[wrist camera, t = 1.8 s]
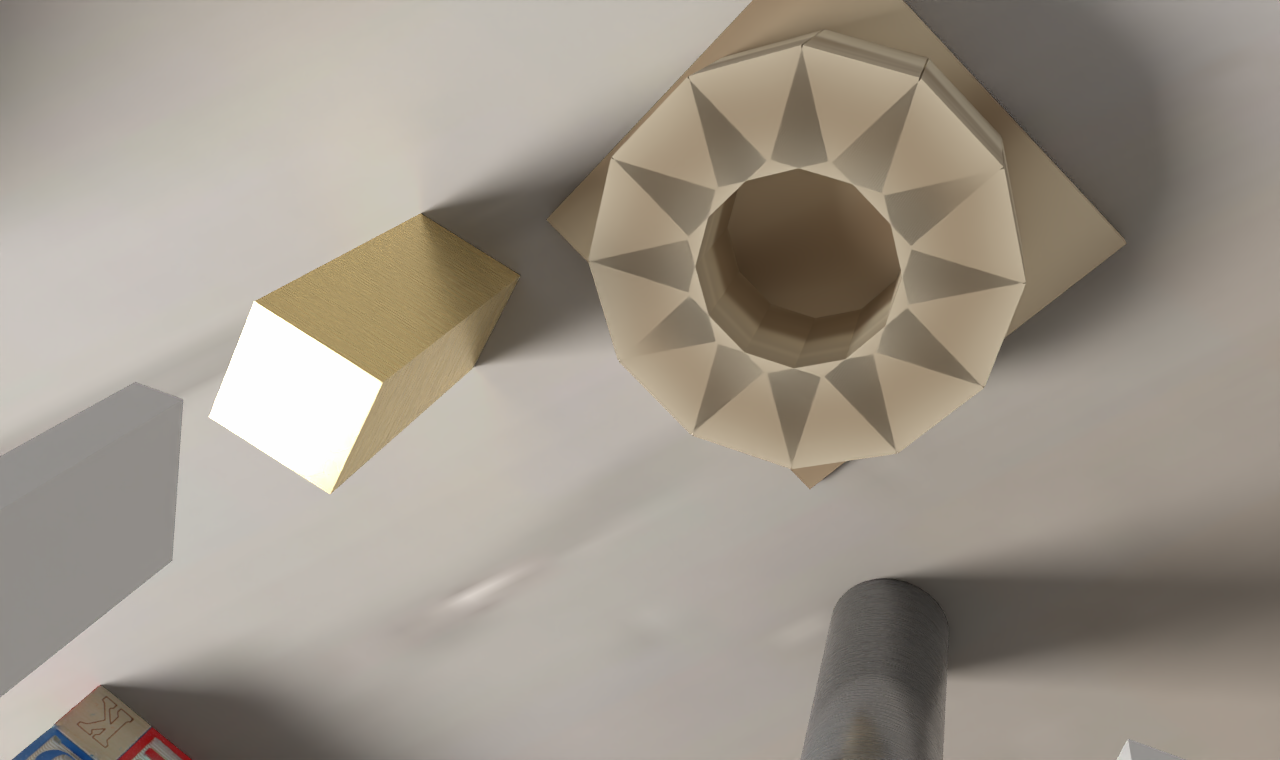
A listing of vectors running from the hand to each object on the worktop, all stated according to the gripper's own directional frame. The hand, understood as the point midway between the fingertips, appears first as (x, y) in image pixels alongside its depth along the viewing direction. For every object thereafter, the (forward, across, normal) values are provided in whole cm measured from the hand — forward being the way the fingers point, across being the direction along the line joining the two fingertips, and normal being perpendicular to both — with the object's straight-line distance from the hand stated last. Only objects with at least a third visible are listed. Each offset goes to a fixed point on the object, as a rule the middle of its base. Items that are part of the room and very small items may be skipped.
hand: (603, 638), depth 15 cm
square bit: (+23, -12, -6) cm, 26 cm away
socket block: (+23, 0, 0) cm, 23 cm away
